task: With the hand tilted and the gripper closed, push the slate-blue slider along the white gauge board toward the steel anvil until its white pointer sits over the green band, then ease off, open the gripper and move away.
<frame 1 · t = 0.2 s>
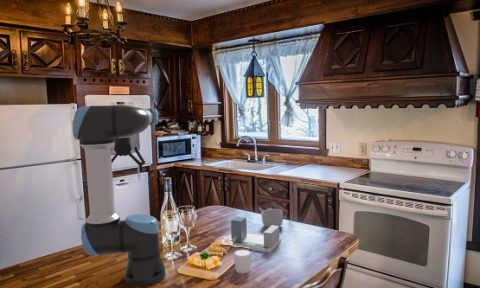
hand: (125, 179, 183), 28 cm above the kitchen island, tool pointing down, fingers open, 13 cm apart
gauge board: (251, 243, 170), on the kitchen island
shot glass: (242, 270, 143), on the kitchen island
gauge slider: (236, 229, 170), point 6 cm above the kitchen island, slide at 0.0 cm
teacup: (272, 226, 193), on the kitchen island
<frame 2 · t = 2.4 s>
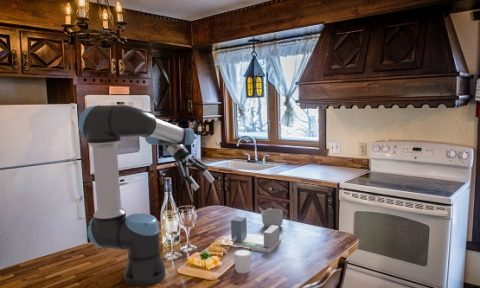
hand: (205, 185, 177), 25 cm above the kitchen island, tool tilted 40°, fingers open, 13 cm apart
nothing on the kitchen island moved.
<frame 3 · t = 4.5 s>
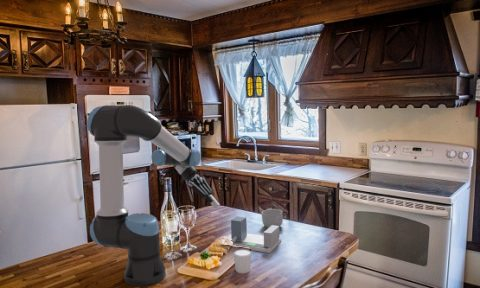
hand: (217, 206, 176), 15 cm above the kitchen island, tool tilted 45°, fingers closed
nothing on the kitchen island moved.
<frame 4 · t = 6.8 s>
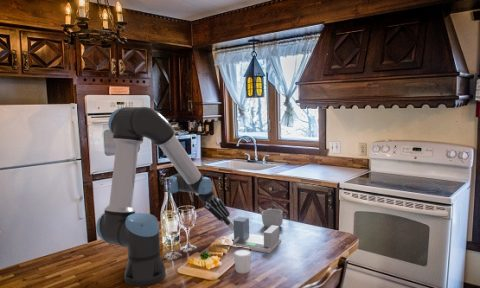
hand: (234, 228, 173), 5 cm above the kitchen island, tool tilted 45°, fingers closed
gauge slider: (239, 230, 169), point 6 cm above the kitchen island, slide at 1.3 cm
everything else where it was.
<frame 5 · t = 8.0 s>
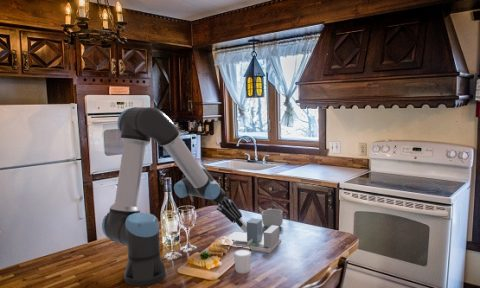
hand: (247, 230, 170), 5 cm above the kitchen island, tool tilted 45°, fingers closed
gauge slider: (252, 231, 166), point 6 cm above the kitchen island, slide at 8.0 cm, touching gripper
everything else where it was.
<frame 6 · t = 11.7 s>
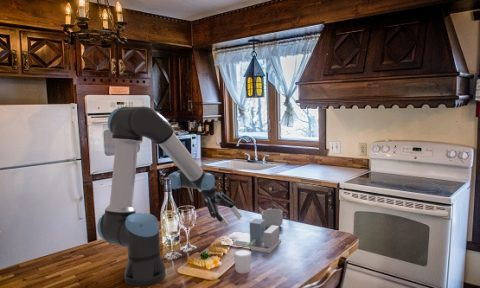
hand: (234, 221, 173), 9 cm above the kitchen island, tool tilted 45°, fingers open, 13 cm apart
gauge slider: (255, 232, 166), point 6 cm above the kitchen island, slide at 9.5 cm
everything else where it was.
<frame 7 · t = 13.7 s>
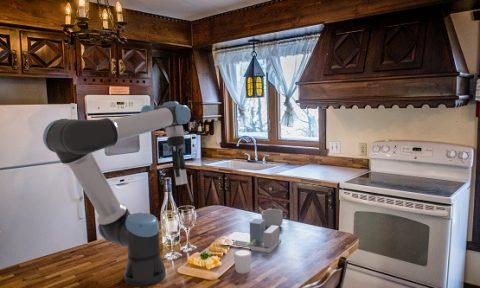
hand: (182, 184, 162), 29 cm above the kitchen island, tool pointing down, fingers open, 13 cm apart
nothing on the kitchen island moved.
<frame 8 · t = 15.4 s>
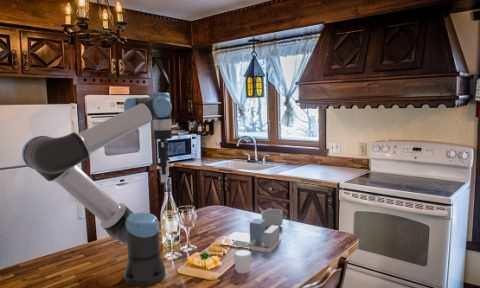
hand: (165, 178, 159), 33 cm above the kitchen island, tool pointing down, fingers open, 13 cm apart
nothing on the kitchen island moved.
at the end: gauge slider slide at 9.5 cm; the gripper is holding nothing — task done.
